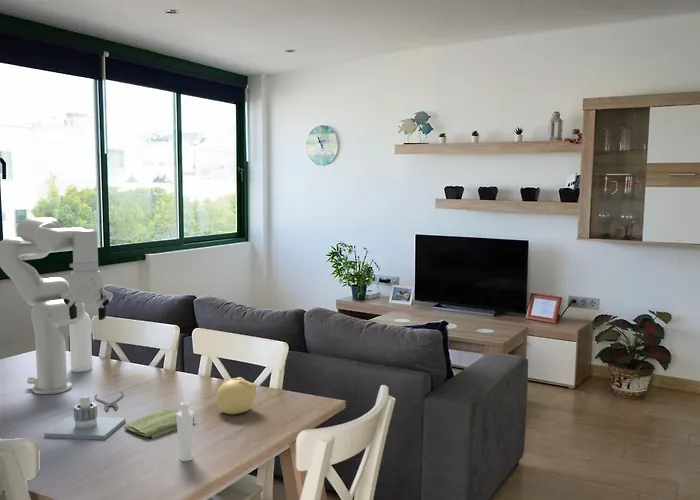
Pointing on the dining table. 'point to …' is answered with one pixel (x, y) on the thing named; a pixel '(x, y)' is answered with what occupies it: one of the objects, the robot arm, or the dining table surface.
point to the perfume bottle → (185, 432)
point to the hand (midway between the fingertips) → (87, 318)
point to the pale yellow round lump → (235, 395)
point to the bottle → (81, 344)
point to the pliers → (110, 403)
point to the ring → (85, 412)
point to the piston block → (85, 426)
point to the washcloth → (155, 424)
